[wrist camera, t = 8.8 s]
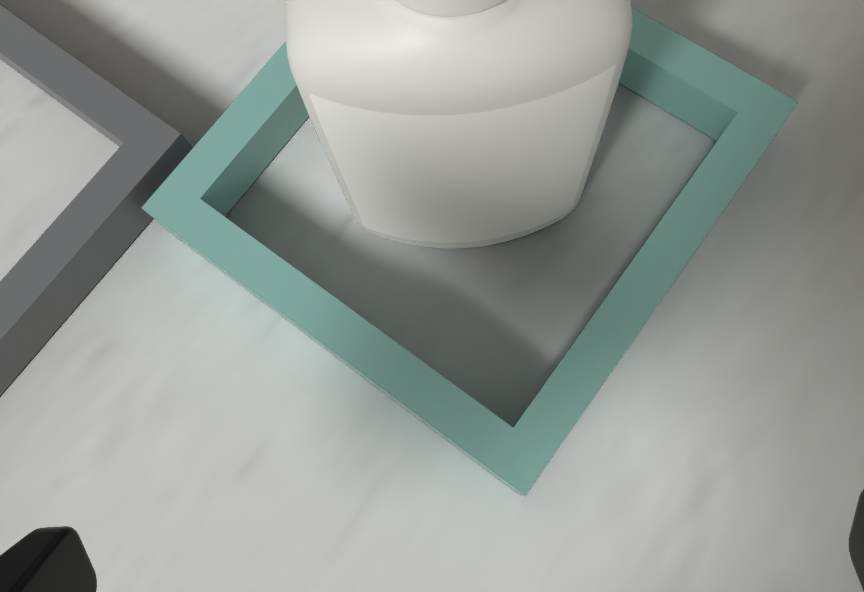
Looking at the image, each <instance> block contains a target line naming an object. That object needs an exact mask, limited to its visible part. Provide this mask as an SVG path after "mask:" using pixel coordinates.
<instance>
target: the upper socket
mask: <svg viewBox="0 0 864 592" xmlns="http://www.w3.org/2000/svg"><path fill="white" fill-rule="evenodd" d="M0 59H1V60H2V61H4V62H5V63H7V64H8V65H9V66H11V67H12V68H13V69H15V70H16V71H17V72H19V73H20V74H21V75H23V76H24V77H26V78H27V79H28V80H30V81H31V82H32V83H34V84H35V85H36V86H38V87H39V88H41V89H42V90H43V91H45V92H46V93H47V94H49V95H50V96H51V97H53V98H54V99H56V100H57V101H58V102H60V103H61V104H62V105H64V106H65V107H66V108H68V109H69V110H71V111H72V112H73V113H75V114H76V115H77V116H79V117H80V118H81V119H83V120H84V121H86V122H87V123H88V124H90V125H91V126H92V127H94V128H95V129H96V130H98V131H99V132H101V133H102V134H103V135H105V136H106V137H107V138H109V139H110V140H111V141H113V142H114V143H116V144H117V145H118V146H120V148H119V149H118V150H117V151H116V152H115V153H114V155H113V156H112V157H111V158H110V159H109V160H108V161H107V162H106V164H105V165H104V166H103V167H102V168H101V169H100V170H99V171H98V173H97V174H96V175H95V176H94V177H93V178H92V179H91V180H90V182H89V183H88V184H87V185H86V186H85V187H84V188H83V189H82V191H81V192H80V193H79V194H78V195H77V196H76V197H75V198H74V200H73V201H72V202H71V203H70V204H69V205H68V206H67V207H66V208H65V210H64V211H63V212H62V213H61V214H60V215H59V216H58V217H57V219H56V220H55V221H54V222H53V223H52V224H51V225H50V226H49V228H48V229H47V230H46V231H45V232H44V233H43V234H42V235H41V237H40V238H39V239H38V240H37V241H36V242H35V243H34V244H33V246H32V247H31V248H30V249H29V250H28V251H27V252H26V253H25V255H24V256H23V257H22V258H21V259H20V260H19V261H18V262H17V264H16V265H15V266H14V267H13V268H12V269H11V270H10V271H9V273H8V274H7V275H6V276H5V277H4V278H3V279H2V280H1V282H0V396H1V394H2V393H3V392H4V391H5V390H6V389H7V387H8V386H9V385H10V384H11V383H12V382H13V380H14V379H15V378H16V377H17V376H18V375H19V374H20V372H21V371H22V370H23V369H24V368H25V367H26V365H27V364H28V363H29V362H30V361H31V360H32V358H33V357H34V356H35V355H36V354H37V353H38V351H39V350H40V349H41V348H42V347H43V346H44V344H45V343H46V342H47V341H48V340H49V339H50V338H51V336H52V335H53V334H54V333H55V332H56V331H57V329H58V328H59V327H60V326H61V325H62V324H63V322H64V321H65V320H66V319H67V318H68V317H69V315H70V314H71V313H72V312H73V311H74V310H75V309H76V307H77V306H78V305H79V304H80V303H81V302H82V300H83V299H84V298H85V297H86V296H87V295H88V293H89V292H90V291H91V290H92V289H93V288H94V286H95V285H96V284H97V283H98V282H99V281H100V279H101V278H102V277H103V276H104V275H105V274H106V273H107V271H108V270H109V269H110V268H111V267H112V266H113V264H114V263H115V262H116V261H117V260H118V259H119V257H120V256H121V255H122V254H123V253H124V252H125V250H126V249H127V248H128V247H129V246H130V245H131V244H132V242H133V241H134V240H135V239H136V238H137V237H138V235H139V234H140V233H141V232H142V231H143V230H144V228H145V227H146V226H147V225H148V224H149V223H150V221H151V220H152V219H153V218H152V217H151V216H150V215H149V214H148V213H147V212H145V211H144V210H143V209H142V206H143V205H144V204H145V203H146V202H147V201H148V199H149V198H150V197H151V196H152V195H153V194H154V193H155V191H156V190H157V189H158V188H159V187H160V186H161V184H162V183H163V182H164V181H165V180H166V179H167V178H168V176H169V175H170V174H171V173H172V172H173V171H174V169H175V168H176V167H177V166H178V165H179V164H180V163H181V161H182V160H183V159H184V158H185V157H186V156H187V154H188V153H189V152H190V151H191V150H192V149H193V148H192V146H191V145H190V144H189V143H188V142H187V140H186V139H185V138H184V137H183V135H182V134H181V133H179V132H178V131H177V130H175V129H174V128H172V127H171V126H170V125H168V124H167V123H165V122H164V121H163V120H161V119H160V118H158V117H157V116H156V115H154V114H153V113H151V112H150V111H148V110H147V109H146V108H144V107H143V106H141V105H140V104H139V103H137V102H136V101H134V100H133V99H132V98H130V97H129V96H127V95H126V94H125V93H123V92H122V91H120V90H119V89H118V88H116V87H115V86H113V85H112V84H111V83H109V82H108V81H106V80H105V79H104V78H102V77H101V76H99V75H98V74H97V73H95V72H94V71H92V70H91V69H90V68H88V67H87V66H85V65H84V64H83V63H81V62H80V61H78V60H77V59H75V58H74V57H73V56H71V55H70V54H68V53H67V52H66V51H64V50H63V49H61V48H60V47H59V46H57V45H56V44H54V43H53V42H52V41H50V40H49V39H47V38H46V37H45V36H43V35H42V34H40V33H39V32H38V31H36V30H35V29H33V28H32V27H31V26H29V25H28V24H26V23H25V22H24V21H22V20H21V19H19V18H18V17H17V16H15V15H14V14H12V13H11V12H10V11H8V10H7V9H5V8H4V7H3V6H1V5H0Z"/></svg>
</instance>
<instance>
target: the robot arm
mask: <svg viewBox="0 0 864 592" xmlns="http://www.w3.org/2000/svg"><path fill="white" fill-rule="evenodd" d="M849 551H850V556H851V559H852V562H853V565H854V568H855V570H856V573H857V575H858V578H859V581H860V583H861V586H862V588H863V591H864V489H863V491H862V492H861V494H860V497H859V500H858V504H857V508H856V512H855V516H854V520H853V524H852V528H851V532H850V536H849ZM96 588H97V579H96V574H95V571H94V568H93V566H92V564H91V562H90V559H89V557H88V555H87V553H86V550H85V548H84V546H83V544H82V541H81V539H80V537H79V535H78V533H77V531H75V530H74V529H73V528H72V527H67V526H65V527H46V528H39V529H36V530H34V531H32V532H31V533H29V534H28V535H26V536H25V537H24V538H23V539H21V540H20V541H19V542H17V543H16V544H15V545H13V546H12V547H11V548H10V549H8V550H7V551H6V552H4V553H3V554H2V555H0V592H96Z"/></svg>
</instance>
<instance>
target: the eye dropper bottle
mask: <svg viewBox="0 0 864 592" xmlns="http://www.w3.org/2000/svg"><path fill="white" fill-rule="evenodd" d="M632 24H633V22H632V10H631V1H630V0H285V28H286V47H287V57H288V61H289V65H290V69H291V72H292V74H293V77H294V79H295V82H296V84H297V87H298V89H299V92H300V94H301V97H302V99H303V102H304V104H305V107H306V109H307V112H308V114H309V117H310V119H311V121H312V124H313V126H314V128H315V131H316V133H317V135H318V137H319V140H320V142H321V144H322V146H323V149H324V151H325V153H326V155H327V158H328V160H329V162H330V164H331V167H332V169H333V171H334V173H335V176H336V178H337V180H338V182H339V184H340V187H341V189H342V191H343V193H344V195H345V198H346V200H347V202H348V204H349V207H350V209H351V211H352V213H353V215H354V217H355V220H356V221H357V223H358V224H359V225H360V226H362V227H363V228H364V229H366V230H367V231H368V232H370V233H372V234H375V235H377V236H380V237H383V238H386V239H390V240H393V241H397V242H401V243H405V244H410V245H416V246H423V247H431V248H472V247H481V246H487V245H493V244H497V243H502V242H506V241H510V240H513V239H517V238H520V237H523V236H525V235H528V234H531V233H533V232H536V231H538V230H541V229H543V228H545V227H547V226H549V225H551V224H553V223H555V222H557V221H559V220H561V219H562V218H564V217H566V216H567V215H568V214H569V213H570V212H571V211H572V210H573V209H574V208H575V207H576V206H577V205H578V203H579V201H580V198H581V195H582V192H583V189H584V186H585V183H586V180H587V177H588V174H589V171H590V168H591V165H592V162H593V159H594V157H595V154H596V151H597V148H598V145H599V142H600V139H601V136H602V133H603V129H604V126H605V123H606V120H607V117H608V114H609V111H610V108H611V105H612V102H613V99H614V96H615V93H616V90H617V87H618V83H619V80H620V76H621V73H622V69H623V66H624V62H625V59H626V56H627V52H628V47H629V43H630V38H631V31H632Z"/></svg>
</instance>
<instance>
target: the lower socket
mask: <svg viewBox="0 0 864 592" xmlns="http://www.w3.org/2000/svg"><path fill="white" fill-rule="evenodd" d="M631 10H632V22H633V24H632V31H631V38H630V43H629V47H628V52H627V56H626V59H625V62H624V66H623V69H622V73H621V76H620V80H619V83H621V84H622V85H624V86H626V87H627V88H629V89H631V90H632V91H634V92H636V93H637V94H639V95H641V96H642V97H644V98H646V99H647V100H649V101H651V102H652V103H654V104H656V105H657V106H659V107H661V108H662V109H664V110H666V111H667V112H669V113H671V114H673V115H674V116H676V117H678V118H679V119H681V120H683V121H684V122H686V123H688V124H689V125H691V126H693V127H694V128H696V129H698V130H699V131H701V132H703V133H704V134H706V135H708V136H709V137H711V138H713V139H714V140H716V141H717V142H716V143H715V145H714V146H713V148H712V149H711V150H710V152H709V153H708V155H707V156H706V157H705V159H704V160H703V162H702V163H701V164H700V166H699V167H698V169H697V170H696V171H695V173H694V174H693V176H692V177H691V179H690V180H689V181H688V183H687V184H686V186H685V187H684V188H683V190H682V191H681V193H680V194H679V195H678V197H677V198H676V200H675V201H674V202H673V204H672V205H671V207H670V208H669V209H668V211H667V212H666V214H665V215H664V217H663V218H662V219H661V221H660V222H659V224H658V225H657V226H656V228H655V229H654V231H653V232H652V233H651V235H650V236H649V238H648V239H647V240H646V242H645V243H644V245H643V246H642V247H641V249H640V250H639V252H638V253H637V255H636V256H635V257H634V259H633V260H632V262H631V263H630V264H629V266H628V267H627V269H626V270H625V271H624V273H623V274H622V276H621V277H620V278H619V280H618V281H617V283H616V284H615V285H614V287H613V288H612V290H611V291H610V293H609V294H608V295H607V297H606V298H605V300H604V301H603V302H602V304H601V305H600V307H599V308H598V309H597V311H596V312H595V314H594V315H593V316H592V318H591V319H590V321H589V322H588V324H587V325H586V326H585V328H584V329H583V331H582V332H581V333H580V335H579V336H578V338H577V339H576V340H575V342H574V343H573V345H572V346H571V347H570V349H569V350H568V352H567V353H566V354H565V356H564V357H563V359H562V360H561V362H560V363H559V364H558V366H557V367H556V369H555V370H554V371H553V373H552V374H551V376H550V377H549V378H548V380H547V381H546V383H545V384H544V385H543V387H542V388H541V390H540V391H539V392H538V394H537V395H536V397H535V398H534V400H533V401H532V402H531V404H530V405H529V407H528V408H527V409H526V411H525V412H524V414H523V415H522V416H521V418H520V419H519V421H518V422H517V423H516V425H515V426H514V428H513V427H512V426H510V425H509V424H508V423H506V422H505V421H503V420H502V419H501V418H499V417H498V416H497V415H495V414H494V413H493V412H491V411H490V410H488V409H487V408H486V407H484V406H483V405H482V404H480V403H479V402H477V401H476V400H475V399H473V398H472V397H471V396H469V395H468V394H467V393H465V392H464V391H462V390H461V389H460V388H458V387H457V386H456V385H454V384H453V383H451V382H450V381H449V380H447V379H446V378H445V377H443V376H442V375H441V374H439V373H438V372H436V371H435V370H434V369H432V368H431V367H430V366H428V365H427V364H425V363H424V362H423V361H421V360H420V359H419V358H417V357H416V356H415V355H413V354H412V353H410V352H409V351H408V350H406V349H405V348H404V347H402V346H401V345H400V344H398V343H397V342H395V341H394V340H393V339H391V338H390V337H389V336H387V335H386V334H384V333H383V332H382V331H380V330H379V329H378V328H376V327H375V326H374V325H372V324H371V323H369V322H368V321H367V320H365V319H364V318H363V317H361V316H360V315H358V314H357V313H356V312H354V311H353V310H352V309H350V308H349V307H348V306H346V305H345V304H343V303H342V302H341V301H339V300H338V299H337V298H335V297H334V296H332V295H331V294H330V293H328V292H327V291H326V290H324V289H323V288H322V287H320V286H319V285H317V284H316V283H315V282H313V281H312V280H311V279H309V278H308V277H307V276H305V275H304V274H302V273H301V272H300V271H298V270H297V269H296V268H294V267H293V266H291V265H290V264H289V263H287V262H286V261H285V260H283V259H282V258H281V257H279V256H278V255H276V254H275V253H274V252H272V251H271V250H270V249H268V248H267V247H265V246H264V245H263V244H261V243H260V242H259V241H257V240H256V239H255V238H253V237H252V236H250V235H249V234H248V233H246V232H245V231H244V230H242V229H241V228H239V227H238V226H237V225H235V224H234V223H233V222H231V221H230V220H229V219H227V218H226V217H225V216H226V215H227V213H228V212H229V211H230V210H231V209H232V207H233V206H234V205H235V204H236V203H237V201H238V200H239V199H240V198H241V197H242V195H243V194H244V193H245V192H246V191H247V190H248V188H249V187H250V186H251V185H252V184H253V182H254V181H255V180H256V179H257V178H258V176H259V175H260V174H261V173H262V172H263V170H264V169H265V168H266V167H267V166H268V165H269V163H270V162H271V161H272V160H273V159H274V157H275V156H276V155H277V154H278V153H279V151H280V150H281V149H282V148H283V147H284V146H285V144H286V143H287V142H288V141H289V140H290V138H291V137H292V136H293V135H294V134H295V132H296V131H297V130H298V129H299V128H300V126H301V125H302V124H303V123H304V122H305V121H306V119H307V118H308V117H309V114H308V112H307V109H306V107H305V104H304V102H303V99H302V97H301V94H300V92H299V89H298V87H297V84H296V82H295V79H294V77H293V74H292V72H291V69H290V65H289V61H288V57H287V47H286V42H285V43H284V44H283V45H282V46H281V47H280V48H279V50H278V51H277V52H276V53H275V54H274V55H273V57H272V58H271V59H270V60H269V61H268V62H267V63H266V65H265V66H264V67H263V68H262V69H261V70H260V72H259V73H258V74H257V75H256V76H255V77H254V78H253V80H252V81H251V82H250V83H249V84H248V85H247V87H246V88H245V89H244V90H243V91H242V92H241V93H240V95H239V96H238V97H237V98H236V99H235V100H234V101H233V103H232V104H231V105H230V106H229V107H228V108H227V110H226V111H225V112H224V113H223V114H222V115H221V116H220V118H219V119H218V120H217V121H216V122H215V123H214V125H213V126H212V127H211V128H210V129H209V130H208V131H207V133H206V134H205V135H204V136H203V137H202V138H201V140H200V141H199V142H198V143H197V144H196V145H195V146H194V148H193V149H192V150H191V151H190V152H189V153H188V154H187V156H186V157H185V158H184V159H183V160H182V161H181V163H180V164H179V165H178V166H177V167H176V168H175V169H174V171H173V172H172V173H171V174H170V175H169V176H168V178H167V179H166V180H165V181H164V182H163V183H162V184H161V186H160V187H159V188H158V189H157V190H156V191H155V193H154V194H153V195H152V196H151V197H150V198H149V199H148V201H147V202H146V203H145V204H144V205H143V206H142V209H143V210H144V211H145V212H147V213H148V214H149V215H150V216H151V217H152V218H154V219H155V220H156V221H157V222H158V223H160V224H161V225H162V226H163V227H164V228H165V229H167V230H168V231H169V232H171V233H172V234H173V235H175V236H176V237H177V238H179V239H180V240H181V241H183V242H184V243H185V244H187V245H188V246H189V247H191V248H192V249H193V250H195V251H196V252H197V253H199V254H200V255H201V256H203V257H204V258H205V259H207V260H208V261H209V262H211V263H212V264H213V265H215V266H216V267H217V268H219V269H220V270H221V271H223V272H224V273H225V274H227V275H228V276H229V277H231V278H232V279H233V280H235V281H236V282H237V283H239V284H240V285H241V286H242V287H244V288H245V289H246V290H248V291H249V292H250V293H252V294H253V295H254V296H256V297H257V298H258V299H260V300H261V301H262V302H264V303H265V304H266V305H268V306H269V307H270V308H272V309H273V310H274V311H276V312H277V313H278V314H280V315H281V316H282V317H284V318H285V319H286V320H288V321H289V322H290V323H292V324H293V325H294V326H296V327H297V328H298V329H300V330H301V331H302V332H304V333H305V334H306V335H308V336H309V337H310V338H312V339H313V340H314V341H316V342H317V343H318V344H320V345H321V346H322V347H324V348H325V349H326V350H328V351H329V352H330V353H332V354H333V355H334V356H336V357H337V358H338V359H340V360H341V361H342V362H344V363H345V364H346V365H348V366H349V367H350V368H352V369H353V370H354V371H356V372H357V373H358V374H360V375H361V376H362V377H364V378H365V379H366V380H368V381H369V382H370V383H372V384H373V385H374V386H376V387H377V388H378V389H380V390H381V391H382V392H384V393H385V394H386V395H388V396H389V397H390V398H392V399H393V400H394V401H396V402H397V403H398V404H399V405H401V406H402V407H403V408H405V409H406V410H407V411H409V412H410V413H411V414H413V415H414V416H415V417H417V418H418V419H419V420H421V421H422V422H423V423H425V424H426V425H427V426H429V427H430V428H431V429H433V430H434V431H435V432H437V433H438V434H439V435H441V436H442V437H443V438H445V439H446V440H447V441H449V442H450V443H451V444H453V445H454V446H455V447H457V448H458V449H459V450H461V451H462V452H463V453H465V454H466V455H467V456H469V457H470V458H471V459H473V460H474V461H475V462H477V463H478V464H479V465H481V466H482V467H483V468H485V469H486V470H487V471H489V472H490V473H491V474H493V475H494V476H495V477H497V478H498V479H499V480H501V481H502V482H503V483H505V484H506V485H507V486H509V487H510V488H511V489H513V490H514V491H515V492H517V493H518V494H519V495H521V496H526V494H527V493H528V491H529V490H530V489H531V487H532V486H533V484H534V483H535V481H536V480H537V479H538V477H539V476H540V474H541V473H542V471H543V470H544V468H545V467H546V466H547V464H548V463H549V461H550V460H551V458H552V457H553V455H554V454H555V453H556V451H557V450H558V448H559V447H560V445H561V444H562V442H563V441H564V440H565V438H566V437H567V435H568V434H569V432H570V431H571V430H572V428H573V427H574V425H575V424H576V422H577V421H578V419H579V418H580V417H581V415H582V414H583V412H584V411H585V409H586V408H587V406H588V405H589V404H590V402H591V401H592V399H593V398H594V396H595V395H596V393H597V392H598V391H599V389H600V388H601V386H602V385H603V383H604V382H605V381H606V379H607V378H608V376H609V375H610V373H611V372H612V370H613V369H614V368H615V366H616V365H617V363H618V362H619V360H620V359H621V357H622V356H623V355H624V353H625V352H626V350H627V349H628V347H629V346H630V344H631V343H632V342H633V340H634V339H635V337H636V336H637V334H638V333H639V332H640V330H641V329H642V327H643V326H644V324H645V323H646V321H647V320H648V319H649V317H650V316H651V314H652V313H653V311H654V310H655V308H656V307H657V306H658V304H659V303H660V301H661V300H662V298H663V297H664V295H665V294H666V293H667V291H668V290H669V288H670V287H671V285H672V284H673V283H674V281H675V280H676V278H677V277H678V275H679V274H680V272H681V271H682V270H683V268H684V267H685V265H686V264H687V262H688V261H689V259H690V258H691V257H692V255H693V254H694V252H695V251H696V249H697V248H698V246H699V245H700V244H701V242H702V241H703V239H704V238H705V236H706V235H707V234H708V232H709V231H710V229H711V228H712V226H713V225H714V223H715V222H716V221H717V219H718V218H719V216H720V215H721V213H722V212H723V210H724V209H725V208H726V206H727V205H728V203H729V202H730V200H731V199H732V197H733V196H734V195H735V193H736V192H737V190H738V189H739V187H740V186H741V185H742V183H743V182H744V180H745V179H746V177H747V176H748V174H749V173H750V172H751V170H752V169H753V167H754V166H755V164H756V163H757V161H758V160H759V159H760V157H761V156H762V154H763V153H764V151H765V150H766V148H767V147H768V146H769V144H770V143H771V141H772V140H773V138H774V137H775V136H776V134H777V133H778V131H779V130H780V128H781V127H782V125H783V124H784V123H785V121H786V120H787V118H788V117H789V115H790V114H791V112H792V111H793V110H794V108H795V107H796V105H797V104H798V102H797V101H795V100H794V99H792V98H790V97H788V96H787V95H785V94H783V93H781V92H780V91H778V90H776V89H774V88H773V87H771V86H769V85H767V84H766V83H764V82H762V81H760V80H759V79H757V78H755V77H753V76H752V75H750V74H748V73H746V72H745V71H743V70H741V69H739V68H738V67H736V66H734V65H732V64H731V63H729V62H727V61H725V60H724V59H722V58H720V57H718V56H717V55H715V54H713V53H711V52H710V51H708V50H706V49H704V48H702V47H701V46H699V45H697V44H695V43H694V42H692V41H690V40H688V39H687V38H685V37H683V36H681V35H680V34H678V33H676V32H674V31H673V30H671V29H669V28H667V27H666V26H664V25H662V24H660V23H659V22H657V21H655V20H653V19H652V18H650V17H648V16H646V15H645V14H643V13H641V12H639V11H638V10H636V9H634V8H632V7H631Z"/></svg>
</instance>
